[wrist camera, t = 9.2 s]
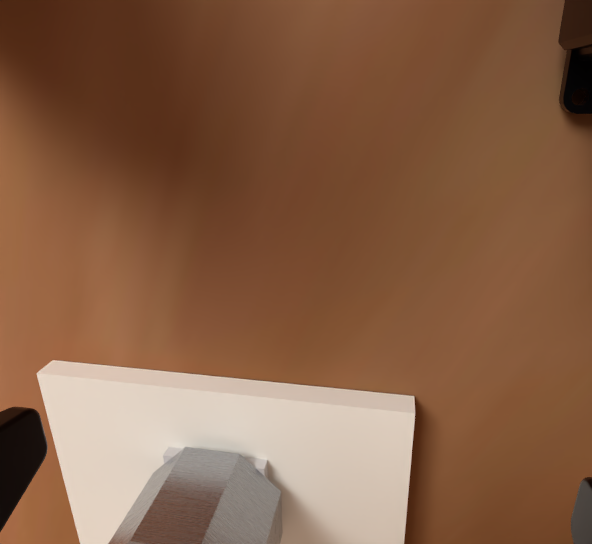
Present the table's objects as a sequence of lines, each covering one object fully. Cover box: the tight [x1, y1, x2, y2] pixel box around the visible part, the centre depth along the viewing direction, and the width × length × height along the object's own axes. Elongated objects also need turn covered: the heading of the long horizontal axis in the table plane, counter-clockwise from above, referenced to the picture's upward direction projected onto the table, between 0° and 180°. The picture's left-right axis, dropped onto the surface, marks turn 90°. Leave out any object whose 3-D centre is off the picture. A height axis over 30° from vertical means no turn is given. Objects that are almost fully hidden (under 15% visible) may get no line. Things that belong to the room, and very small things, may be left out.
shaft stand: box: [37, 360, 415, 544], centre depth 21 cm, size 18×12×7 cm, turn 91°
